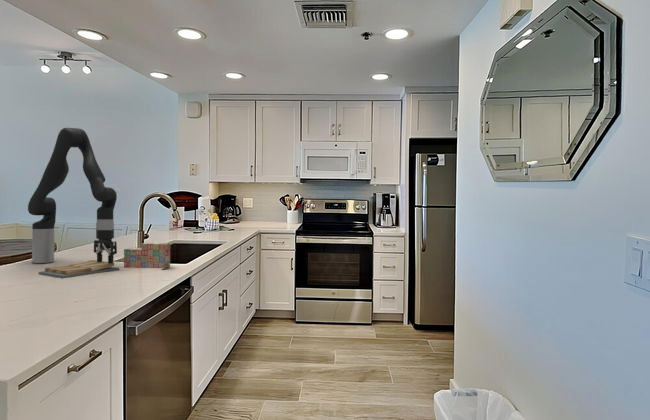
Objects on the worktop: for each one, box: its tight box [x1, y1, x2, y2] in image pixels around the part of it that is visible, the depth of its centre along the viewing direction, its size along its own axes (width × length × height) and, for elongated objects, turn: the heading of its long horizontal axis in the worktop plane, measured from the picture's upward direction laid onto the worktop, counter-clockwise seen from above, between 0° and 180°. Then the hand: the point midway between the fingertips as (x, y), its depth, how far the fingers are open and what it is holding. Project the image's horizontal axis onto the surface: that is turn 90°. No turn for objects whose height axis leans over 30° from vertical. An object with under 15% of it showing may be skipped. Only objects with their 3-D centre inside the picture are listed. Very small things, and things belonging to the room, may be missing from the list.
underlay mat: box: [37, 266, 120, 279], centre depth 187 cm, size 19×26×1 cm
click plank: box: [69, 259, 115, 271], centre depth 191 cm, size 18×11×2 cm, turn 62°
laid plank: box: [44, 264, 91, 275], centre depth 182 cm, size 18×10×2 cm, turn 62°
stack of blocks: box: [123, 242, 171, 269], centre depth 203 cm, size 21×6×12 cm, turn 86°
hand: (105, 262), depth 193 cm, fingers open, 8 cm apart
